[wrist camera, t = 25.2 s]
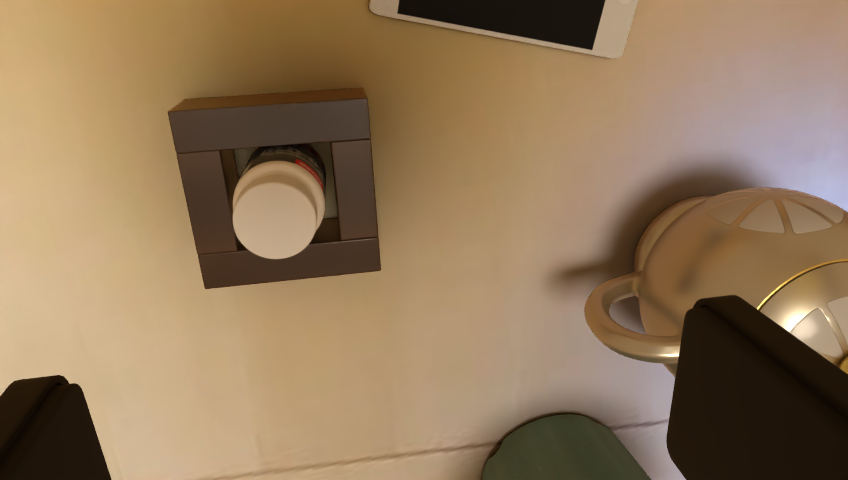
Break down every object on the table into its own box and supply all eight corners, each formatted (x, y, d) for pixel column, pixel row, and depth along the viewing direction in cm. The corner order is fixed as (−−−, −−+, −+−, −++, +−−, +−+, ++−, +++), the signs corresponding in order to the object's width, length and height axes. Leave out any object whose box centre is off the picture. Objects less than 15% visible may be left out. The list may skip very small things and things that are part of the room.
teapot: (794, 144, 41) (1067, 228, 26) (770, 313, 46) (984, 465, 31) (544, 182, 39) (681, 297, 24) (549, 354, 44) (664, 536, 29)
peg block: (184, 99, 33) (167, 111, 30) (363, 87, 35) (367, 98, 31) (216, 261, 37) (204, 289, 34) (375, 245, 39) (381, 271, 35)
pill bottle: (336, 151, 36) (339, 192, 28) (312, 220, 37) (309, 277, 30) (259, 125, 35) (240, 160, 27) (237, 197, 36) (213, 250, 28)
